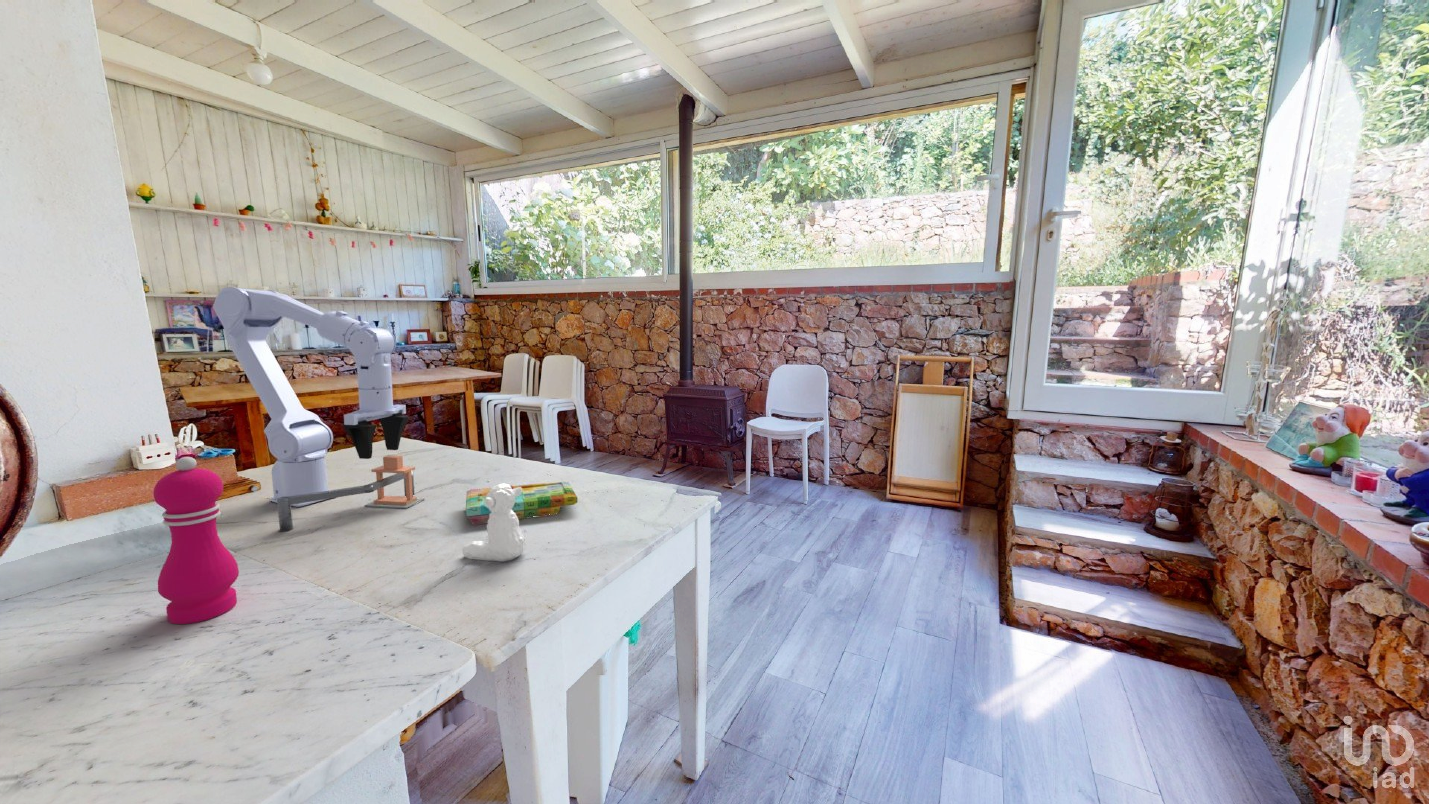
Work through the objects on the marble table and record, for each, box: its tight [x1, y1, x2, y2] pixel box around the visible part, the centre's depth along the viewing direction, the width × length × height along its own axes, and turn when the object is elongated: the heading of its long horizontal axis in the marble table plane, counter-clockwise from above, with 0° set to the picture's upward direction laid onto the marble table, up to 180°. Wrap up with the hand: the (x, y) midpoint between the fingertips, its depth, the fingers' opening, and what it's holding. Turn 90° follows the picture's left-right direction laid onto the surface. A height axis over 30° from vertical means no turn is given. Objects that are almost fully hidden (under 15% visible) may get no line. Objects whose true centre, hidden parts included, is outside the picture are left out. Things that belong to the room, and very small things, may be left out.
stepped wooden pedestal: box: [370, 454, 418, 505], centre depth 106 cm, size 3×7×10 cm, turn 85°
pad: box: [364, 497, 424, 510], centre depth 107 cm, size 6×9×1 cm, turn 85°
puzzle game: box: [465, 480, 579, 525], centre depth 104 cm, size 12×5×20 cm
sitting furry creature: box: [461, 482, 526, 563], centre depth 83 cm, size 10×9×12 cm
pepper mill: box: [152, 456, 240, 625], centre depth 64 cm, size 7×7×20 cm
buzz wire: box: [276, 470, 415, 533], centre depth 101 cm, size 8×24×6 cm, turn 160°
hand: (379, 453), depth 106 cm, fingers open, 7 cm apart
